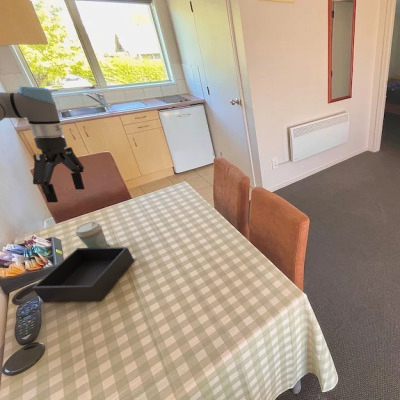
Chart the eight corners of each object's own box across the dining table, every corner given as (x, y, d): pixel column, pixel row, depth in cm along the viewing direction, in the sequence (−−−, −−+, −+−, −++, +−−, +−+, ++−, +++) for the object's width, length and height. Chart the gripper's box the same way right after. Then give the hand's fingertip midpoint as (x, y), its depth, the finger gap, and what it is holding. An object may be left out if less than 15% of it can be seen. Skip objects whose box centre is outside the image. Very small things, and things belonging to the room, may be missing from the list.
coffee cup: (102, 255, 110) (89, 233, 104) (82, 255, 110) (68, 233, 104) (116, 242, 117) (104, 220, 111) (97, 242, 118) (84, 220, 111)
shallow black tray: (43, 301, 91) (31, 288, 87) (85, 261, 108) (77, 247, 104) (100, 300, 91) (91, 286, 87) (134, 260, 108) (127, 247, 104)
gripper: (30, 142, 79) (52, 208, 86) (86, 132, 102) (99, 184, 109) (0, 141, 78) (25, 208, 85) (64, 131, 100) (79, 184, 108)
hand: (67, 195), depth 97 cm, fingers open, 13 cm apart
